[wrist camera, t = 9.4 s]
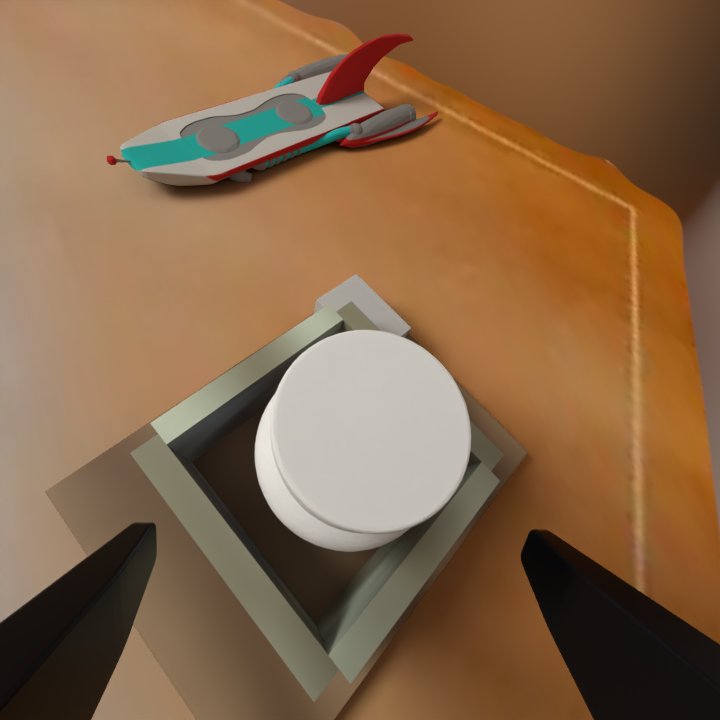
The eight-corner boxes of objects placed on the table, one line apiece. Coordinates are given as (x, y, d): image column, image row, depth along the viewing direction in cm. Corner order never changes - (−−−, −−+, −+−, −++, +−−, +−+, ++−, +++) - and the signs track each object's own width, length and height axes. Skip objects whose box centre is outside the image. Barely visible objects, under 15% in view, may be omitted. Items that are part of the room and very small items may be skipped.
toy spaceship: (208, 280, 23) (185, 223, 18) (100, 181, 25) (53, 106, 20) (437, 120, 34) (459, 58, 29) (351, 58, 35) (359, -11, 30)
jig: (263, 797, 12) (254, 951, 8) (58, 493, 15) (-35, 481, 10) (517, 455, 20) (583, 435, 16) (354, 293, 23) (373, 237, 18)
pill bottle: (306, 394, 18) (334, 271, 9) (401, 451, 18) (522, 382, 9) (237, 497, 15) (181, 466, 6) (347, 565, 15) (444, 629, 6)
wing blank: (364, 374, 19) (373, 359, 17) (312, 319, 20) (316, 299, 18) (399, 344, 20) (411, 327, 19) (349, 294, 21) (356, 273, 20)
